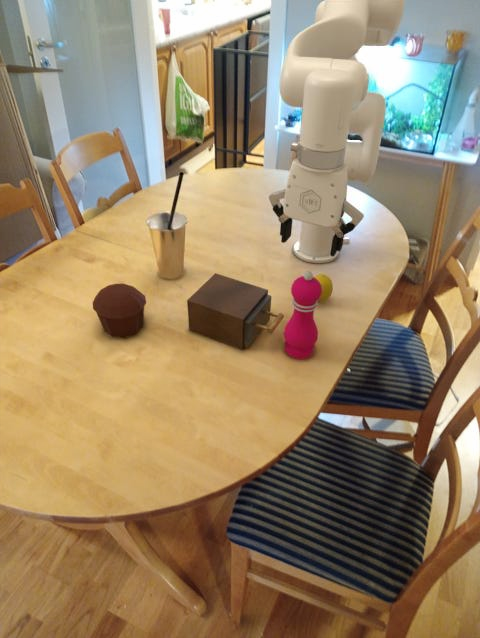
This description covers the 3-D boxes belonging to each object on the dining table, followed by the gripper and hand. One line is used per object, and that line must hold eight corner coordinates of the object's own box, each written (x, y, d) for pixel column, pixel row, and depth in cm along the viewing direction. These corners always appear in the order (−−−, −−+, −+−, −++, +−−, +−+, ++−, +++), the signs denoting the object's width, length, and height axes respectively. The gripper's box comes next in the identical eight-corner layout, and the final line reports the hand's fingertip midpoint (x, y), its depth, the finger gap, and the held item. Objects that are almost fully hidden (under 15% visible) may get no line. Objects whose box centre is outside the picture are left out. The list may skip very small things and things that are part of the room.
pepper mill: (279, 339, 105) (287, 262, 92) (311, 337, 105) (323, 261, 93) (285, 361, 99) (293, 283, 87) (318, 360, 100) (331, 282, 87)
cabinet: (266, 319, 110) (268, 289, 105) (242, 350, 102) (243, 319, 96) (215, 302, 115) (215, 273, 110) (188, 330, 107) (186, 300, 101)
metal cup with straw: (189, 287, 120) (183, 173, 101) (146, 283, 121) (132, 169, 102) (198, 264, 128) (193, 155, 109) (158, 260, 129) (146, 151, 110)
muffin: (158, 318, 110) (154, 283, 104) (131, 347, 102) (125, 311, 96) (116, 305, 114) (110, 270, 107) (87, 332, 106) (78, 296, 99)
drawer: (287, 325, 107) (289, 301, 103) (266, 354, 100) (268, 329, 96) (222, 303, 113) (222, 280, 109) (198, 329, 106) (197, 305, 101)
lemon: (332, 297, 117) (336, 270, 112) (327, 310, 113) (332, 283, 108) (310, 293, 119) (314, 266, 114) (305, 305, 115) (309, 278, 110)
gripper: (263, 152, 77) (259, 243, 88) (366, 173, 71) (348, 268, 82) (281, 139, 83) (275, 226, 94) (379, 157, 77) (360, 248, 88)
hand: (309, 245), depth 88 cm, fingers open, 9 cm apart
